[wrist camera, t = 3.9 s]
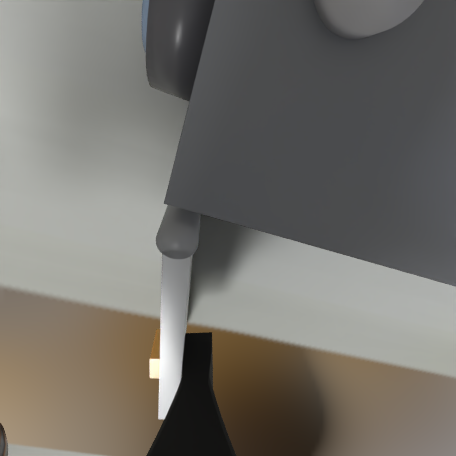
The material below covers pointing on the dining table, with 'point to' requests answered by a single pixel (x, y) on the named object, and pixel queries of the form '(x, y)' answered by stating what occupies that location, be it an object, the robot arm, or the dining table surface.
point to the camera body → (317, 121)
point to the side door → (173, 299)
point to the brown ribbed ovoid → (3, 442)
